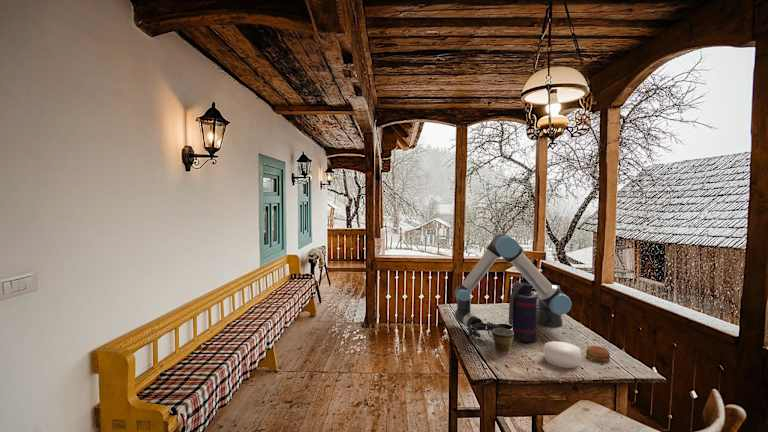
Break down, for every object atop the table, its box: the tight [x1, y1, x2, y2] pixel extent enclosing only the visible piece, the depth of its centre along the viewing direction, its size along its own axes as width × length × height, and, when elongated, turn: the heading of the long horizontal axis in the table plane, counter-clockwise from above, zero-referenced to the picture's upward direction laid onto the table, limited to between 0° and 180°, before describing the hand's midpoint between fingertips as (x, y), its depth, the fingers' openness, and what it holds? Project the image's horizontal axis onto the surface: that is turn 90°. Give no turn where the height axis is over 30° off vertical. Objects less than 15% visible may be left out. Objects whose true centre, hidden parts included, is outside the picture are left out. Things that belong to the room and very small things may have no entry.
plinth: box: [544, 341, 582, 369], centre depth 170 cm, size 15×15×6 cm
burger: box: [586, 345, 611, 363], centre depth 173 cm, size 10×9×5 cm
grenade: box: [508, 281, 538, 344], centre depth 195 cm, size 14×12×30 cm
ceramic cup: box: [487, 327, 514, 355], centre depth 182 cm, size 13×10×10 cm
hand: (496, 336), depth 183 cm, fingers open, 13 cm apart
